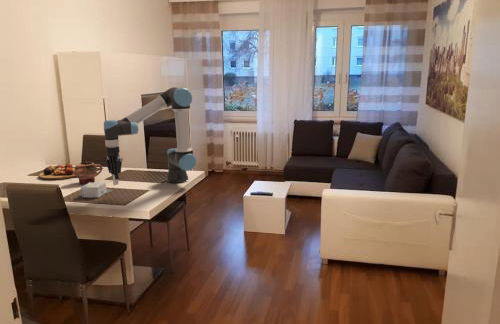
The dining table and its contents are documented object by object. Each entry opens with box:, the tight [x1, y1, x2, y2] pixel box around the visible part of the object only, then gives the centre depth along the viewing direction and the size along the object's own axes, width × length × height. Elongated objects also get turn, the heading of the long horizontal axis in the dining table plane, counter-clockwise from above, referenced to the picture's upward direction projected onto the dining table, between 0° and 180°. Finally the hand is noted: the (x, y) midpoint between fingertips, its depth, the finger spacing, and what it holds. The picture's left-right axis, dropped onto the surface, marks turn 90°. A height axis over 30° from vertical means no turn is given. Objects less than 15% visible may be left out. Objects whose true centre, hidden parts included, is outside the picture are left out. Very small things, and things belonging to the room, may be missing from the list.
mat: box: [78, 188, 115, 199], centre depth 241 cm, size 11×18×1 cm, turn 152°
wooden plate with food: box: [38, 163, 78, 181], centre depth 287 cm, size 32×32×8 cm
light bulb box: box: [80, 182, 107, 198], centre depth 236 cm, size 11×7×11 cm
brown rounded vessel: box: [73, 161, 103, 185], centre depth 265 cm, size 20×12×14 cm, turn 138°
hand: (115, 184), depth 231 cm, fingers closed
